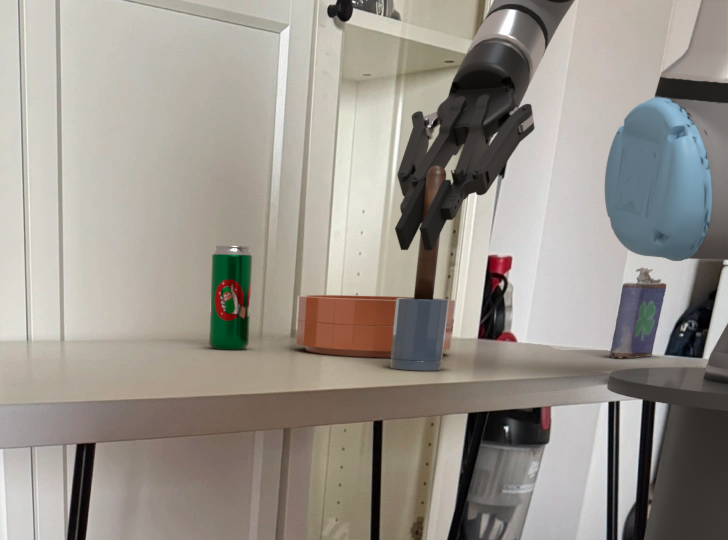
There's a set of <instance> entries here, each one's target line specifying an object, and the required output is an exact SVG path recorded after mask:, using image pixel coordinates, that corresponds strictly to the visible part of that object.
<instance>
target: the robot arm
mask: <svg viewBox="0 0 728 540" xmlns="http://www.w3.org/2000/svg"><path fill="white" fill-rule="evenodd" d="M575 1H576V0H493V1H492V3H491V5H490V7H489V10H488V12H487V14H486V16H485V18H484V19H483V21H482V23H481V25H480V26H479V28H478V30H477V32H476V33H475V35H474V37H473V39H472V41H471V43H470V45H469V47H468V49H467V51H466V53H465V56H464V58H463V59H462V61H461V63H460V65H459V67H458V69H457V71H456V73H455V75H454V77H453V79H452V82H451V85H450V88H449V92H448V95H447V97H446V98H445V100H443V101H442V102H441V103H440V104H439V105H438V107H437V109H436V111H435V112H432V113H430V114H427V115H424V113H423V111H421V110H418V111H415V112H413V113H412V115H411V123H412V130H411V133H410V136H409V138H408V140H407V143H406V147H405V150H404V153H403V156H402V159H401V162H400V165H399V168H398V171H397V175H396V176H397V180H398V183H399V187H400V190H401V194H402V196H403V199H402V201H401V203H400V206H399V209H400V213H401V215H400V217H399V219H398V222H397V223H396V225H395V227H394V230H395V235H396V238H397V241H398V244H399V248H400V250H401V251H408V250H409V249H410V247H411V244H412V243H413V241H414V238H415V236H416V235H417V232H418V230H419V234H420V233H421V237H422V240H423V244H424V248H425V250H432V249H433V247H434V245H435V243H436V241H437V239H438V237H439V235H440V236H441V233H442V231H443V229H444V227H445V224H446V223H447V221H453V220H454V219H455V218H456V217H457V214H458V213H459V211H460V209H461V206H462V204H463V202H464V200H466V199H468V197H469V195H471V194H476V195H477V196H483V195H485V194H487V193H488V192H489V190H490V188H491V187H492V185H493V183H494V182H495V181H496V180H497V178H498V176H499V174H500V173H501V172H502V170H503V168H504V167H505V166H506V164H507V162H508V161H509V160H510V158H511V156H512V155H513V153H514V152H515V151H516V149H517V147H518V146H519V145H520V143H521V142H522V141H523V140H524V139H525V138H527V137H528V136H529V135H530V134H531V133H532V132H534V130H535V121H534V114H533V106H532V104H531V103H525V104H522V105H521V103H522V101H523V99H524V97H525V96H526V93H527V91H528V89H529V86H530V84H531V82H532V81H533V78H534V76H535V74H536V72H537V70H538V68H539V65H540V64H541V62H542V60H543V58H544V55H545V53H546V51H547V48H548V47H549V45H550V43H551V41H552V39H553V37H554V35H555V34H556V31H557V30H558V28H559V26H560V24H561V22H562V20H563V19H564V18H565V16H566V15H567V13H568V11H569V10H570V8H571V7H572V6H573V4H574V2H575ZM696 14H697V15H696V18H695V22H694V26H693V29H692V32H691V36H690V39H689V43H688V47H687V49H686V50H685V51H684V53H683V54H682V55H681V56H680V57H679V58H677V59H676V60H674V61H673V62H672V63H670V65H669V66H667V67H666V68H665V69H663V70H662V71H661V72H660V76H659V79H658V82H657V86H656V88H655V89H656V90H655V93H654V96H653V97H652V98H650V99H648V100H645V101H644V102H641V103H639V104H638V105H636V106H634V107H633V108H632V110H630V111H629V113H628V114H627V115H626V116H625V118H624V120H623V125H621V126H619V128H618V129H617V131H616V132H615V135H614V137H613V140H612V142H611V145H610V148H609V152H608V156H607V161H606V165H605V174H604V201H605V209H606V214H607V217H608V218H609V221H610V226H611V229H612V231H613V233H614V235H615V237H616V239H617V240H618V241H619V242H620V244H621V245H622V246H623V247H624V248H626V249H627V250H628V251H630V252H632V253H633V254H636V255H639V256H644V257H653V258H663V259H666V260H670V261H671V262H682V261H684V260H717V261H721V260H722V261H728V0H700V4H699V8H698V11H697V13H696ZM520 105H521V106H520ZM438 126H439V129H438V134H437V136H436V137H435V139H434V141H433V142H432V144H431V145H430V141H431V140H432V139H433V138H434V133H435V130H436V128H437V127H438ZM429 146H430V147H429ZM460 150H461V152H460ZM459 152H460V156H459V158H458V160H457V164H456V166H455V168H454V169H451V170H450V173H451V178H452V181H451V179H446V180H443V182H442V184H441V186H440V188H439V190H438V192H437V194H436V196H435V198H434V200H433V202H432V204H431V206H430V208H429V210H428V212H427V214H426V216H425V218H424V220H423V222H422V212H423V202H424V192H425V182H426V174H427V172H428V170H429V169H430V168H431V167H432V166H435V165H440V166H442V167H443V168H444V169H445V170H446V167H447V165H448V164H449V162H451V159H452V158H453V157H454V156H457V155H458V154H459ZM421 222H422V224H421ZM705 368H706V370H705V375H704V379H706V380H709V381H713V382H718V383H724V384H728V322H727V323H726V325H725V327H724V329H723V331H722V333H721V334H720V336H719V338H718V339H717V341H716V343H715V345H714V346H713V349H712V350H711V352H710V354H709V357H708V361H707V363H706V366H705Z"/></svg>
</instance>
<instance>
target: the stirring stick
mask: <svg viewBox="0 0 728 540" xmlns="http://www.w3.org/2000/svg"><path fill="white" fill-rule="evenodd" d="M443 180H447V171H446V168H445V169H444V168H443V167H442V166H440V165H435V166H432V167H431V168H430V169H429V170H428V172H427V174H426V182H425V192H424V202H423V212H422V222H423V220H424V218H425V216H426V214H427V212H428V210H429V208H430V206H431V204H432V202H433V200H434V198H435V196H436V194H437V192H438V190H439V188H440V186H441V184H442V182H443ZM422 222H421V224H422ZM440 239H441V234H440V235H439V237H438V239H437V241H436V243H435V245H434V247H433V249H432V250H425V248H424V244H423V240H422V237H421V233H420V232H419V244H418V254H417V263H416V264H417V265H416V273H415V283H414V294H413V297H414V299H424V300H433V298H434V296H435V295H434V294H435V286H436V285H435V284H436V275H437V267H438V257H439V249H440Z"/></svg>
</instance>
